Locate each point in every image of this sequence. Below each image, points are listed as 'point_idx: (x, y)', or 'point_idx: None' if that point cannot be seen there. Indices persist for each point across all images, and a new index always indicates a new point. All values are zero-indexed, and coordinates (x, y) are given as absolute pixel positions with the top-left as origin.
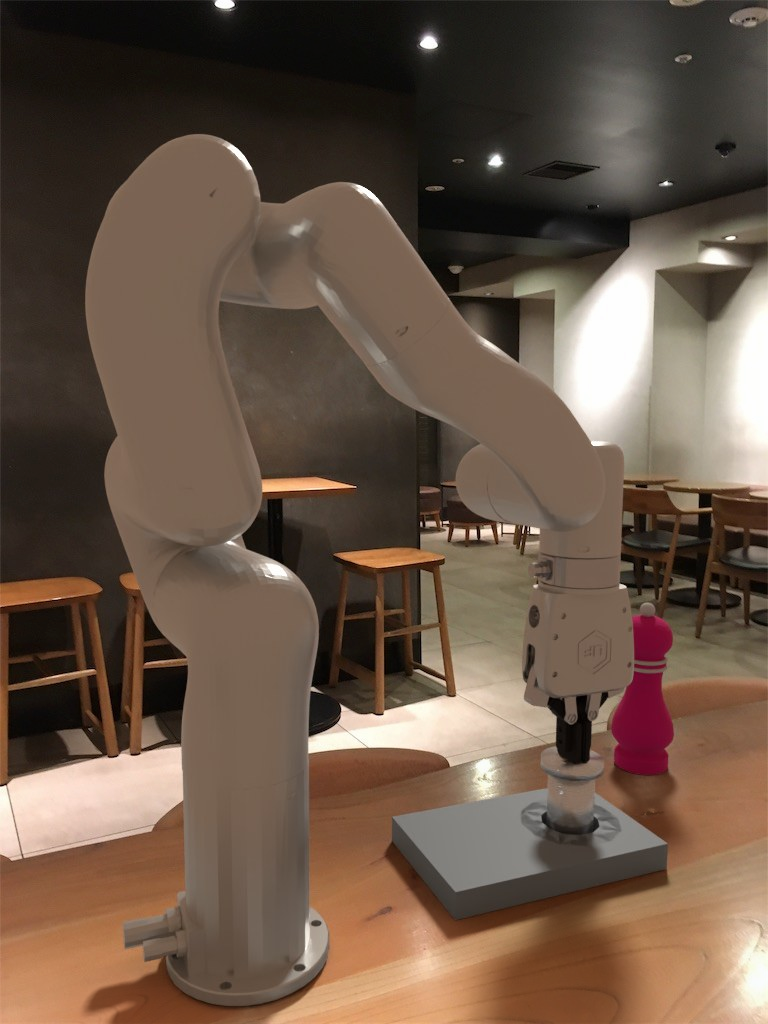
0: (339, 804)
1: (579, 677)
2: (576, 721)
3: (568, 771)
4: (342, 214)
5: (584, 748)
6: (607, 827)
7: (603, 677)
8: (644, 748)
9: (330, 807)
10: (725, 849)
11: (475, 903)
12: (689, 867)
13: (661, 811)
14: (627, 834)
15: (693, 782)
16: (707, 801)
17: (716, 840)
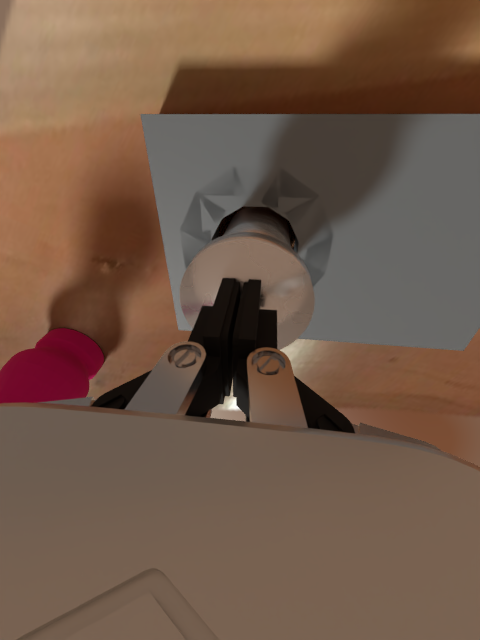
0: (427, 401)
1: (304, 573)
2: (241, 356)
3: (295, 260)
4: None
5: (232, 295)
6: (212, 210)
7: (81, 506)
8: (61, 354)
9: (440, 400)
10: (40, 132)
11: None
12: (119, 104)
13: (93, 260)
14: (193, 176)
15: (27, 300)
16: (23, 257)
17: (45, 163)
